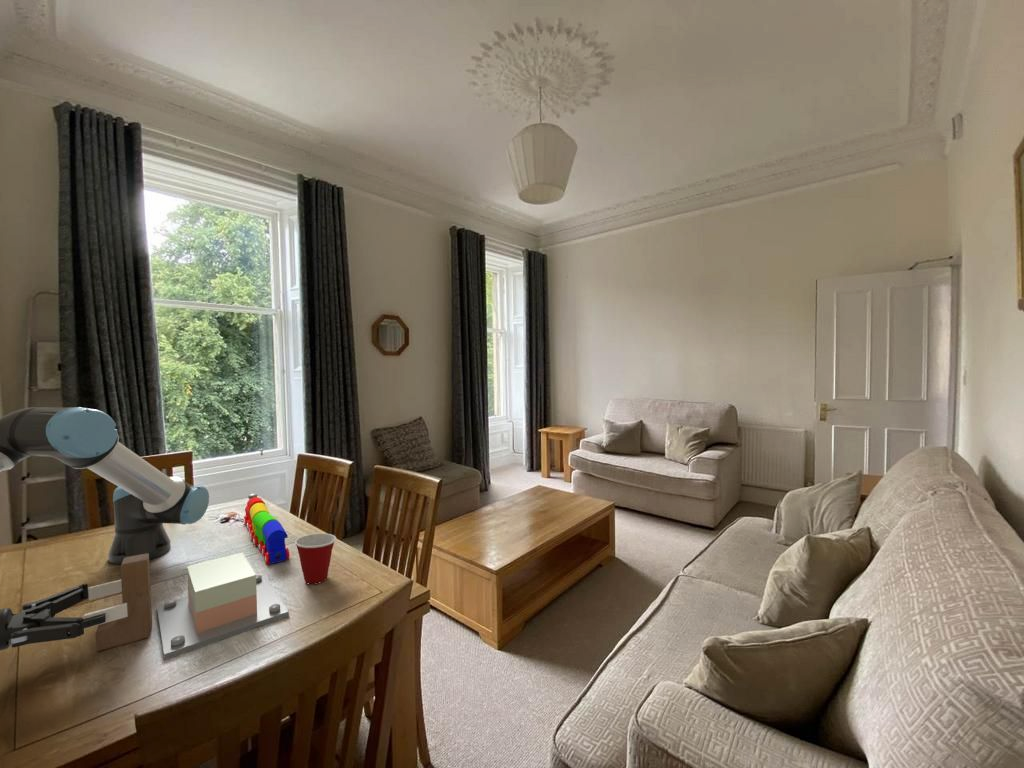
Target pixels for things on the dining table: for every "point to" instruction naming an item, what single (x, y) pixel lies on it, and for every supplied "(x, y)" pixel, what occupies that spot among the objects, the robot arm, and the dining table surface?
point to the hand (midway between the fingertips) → (127, 596)
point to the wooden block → (130, 606)
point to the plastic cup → (315, 556)
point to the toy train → (265, 531)
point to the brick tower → (218, 605)
